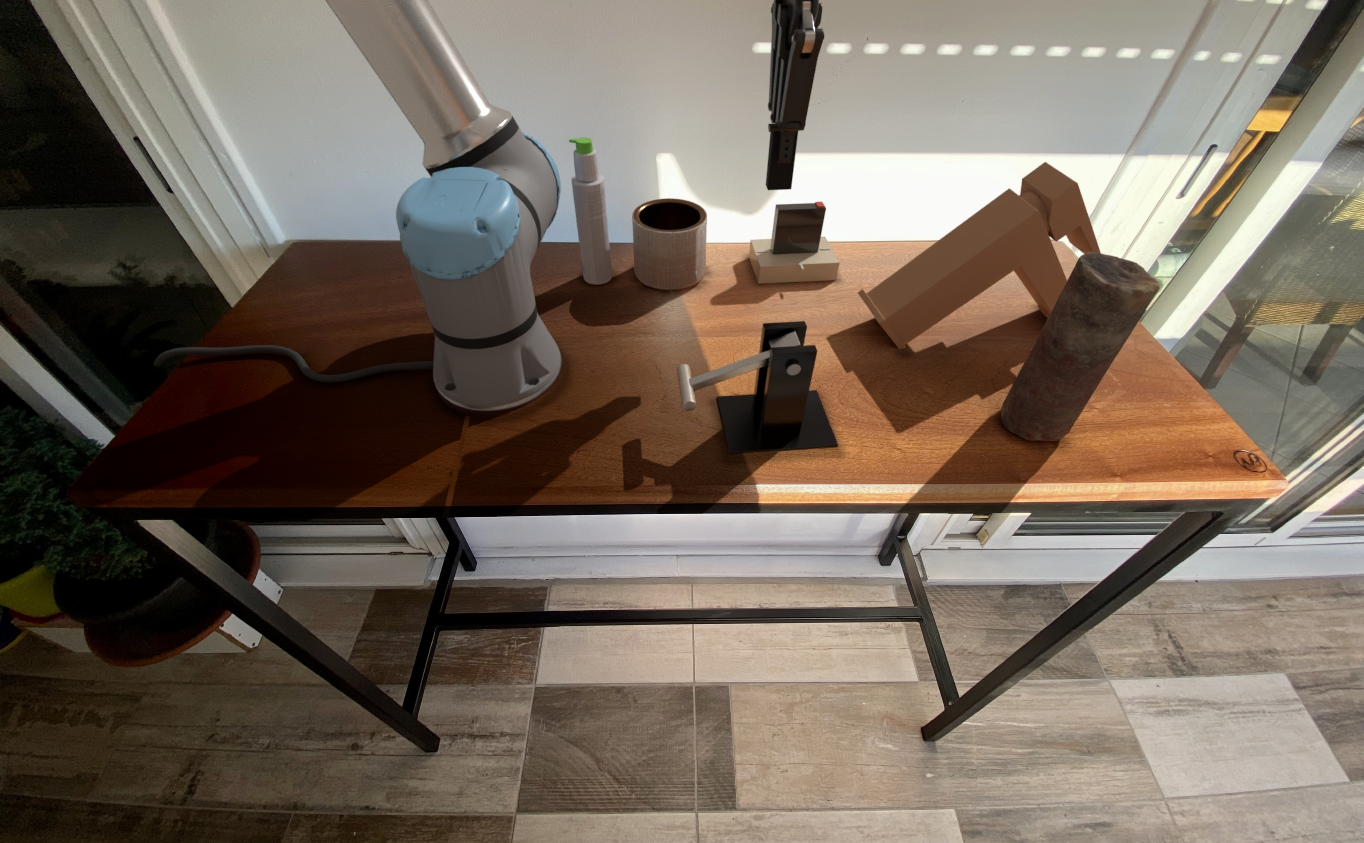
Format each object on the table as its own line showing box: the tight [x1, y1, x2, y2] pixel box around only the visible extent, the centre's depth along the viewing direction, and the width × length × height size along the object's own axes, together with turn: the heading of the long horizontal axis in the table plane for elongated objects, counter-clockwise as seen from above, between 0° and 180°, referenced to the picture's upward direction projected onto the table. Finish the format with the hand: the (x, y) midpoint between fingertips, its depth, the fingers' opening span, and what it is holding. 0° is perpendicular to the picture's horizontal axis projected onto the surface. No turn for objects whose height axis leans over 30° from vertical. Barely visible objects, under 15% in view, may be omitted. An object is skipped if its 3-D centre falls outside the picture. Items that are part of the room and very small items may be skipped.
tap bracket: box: [716, 320, 839, 455], centre depth 64 cm, size 12×9×13 cm
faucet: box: [857, 161, 1102, 350], centre depth 78 cm, size 7×23×25 cm
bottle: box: [568, 137, 613, 286], centre depth 83 cm, size 4×4×20 cm
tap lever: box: [676, 331, 801, 412], centre depth 61 cm, size 13×6×2 cm, turn 96°
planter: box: [631, 197, 708, 292], centre depth 88 cm, size 11×11×10 cm
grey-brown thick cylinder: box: [1000, 252, 1161, 442], centre depth 62 cm, size 8×7×20 cm
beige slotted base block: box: [748, 236, 840, 285], centre depth 92 cm, size 12×11×3 cm
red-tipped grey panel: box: [770, 201, 827, 254], centre depth 88 cm, size 7×2×7 cm, turn 96°
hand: (778, 186), depth 69 cm, fingers closed
